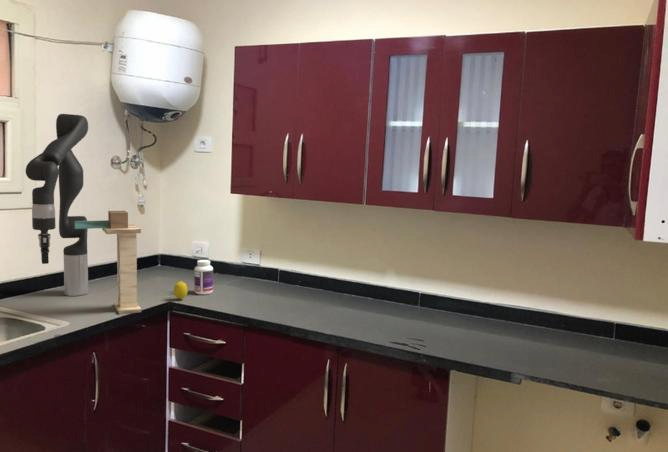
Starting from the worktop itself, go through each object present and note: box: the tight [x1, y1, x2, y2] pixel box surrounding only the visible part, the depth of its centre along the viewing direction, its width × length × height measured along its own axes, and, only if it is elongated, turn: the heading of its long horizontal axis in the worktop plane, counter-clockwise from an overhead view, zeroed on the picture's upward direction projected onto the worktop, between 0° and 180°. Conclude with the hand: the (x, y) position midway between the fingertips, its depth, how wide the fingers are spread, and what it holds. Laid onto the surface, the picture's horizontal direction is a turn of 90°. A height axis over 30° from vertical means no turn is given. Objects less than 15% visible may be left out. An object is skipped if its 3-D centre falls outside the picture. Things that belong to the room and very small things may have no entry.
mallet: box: [75, 210, 129, 230], centre depth 208 cm, size 8×18×6 cm, turn 119°
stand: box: [101, 224, 142, 315], centre depth 214 cm, size 15×12×32 cm
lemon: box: [173, 280, 188, 301], centre depth 232 cm, size 6×6×8 cm
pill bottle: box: [193, 259, 214, 296], centre depth 244 cm, size 8×8×14 cm
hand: (45, 262), depth 204 cm, fingers open, 4 cm apart
